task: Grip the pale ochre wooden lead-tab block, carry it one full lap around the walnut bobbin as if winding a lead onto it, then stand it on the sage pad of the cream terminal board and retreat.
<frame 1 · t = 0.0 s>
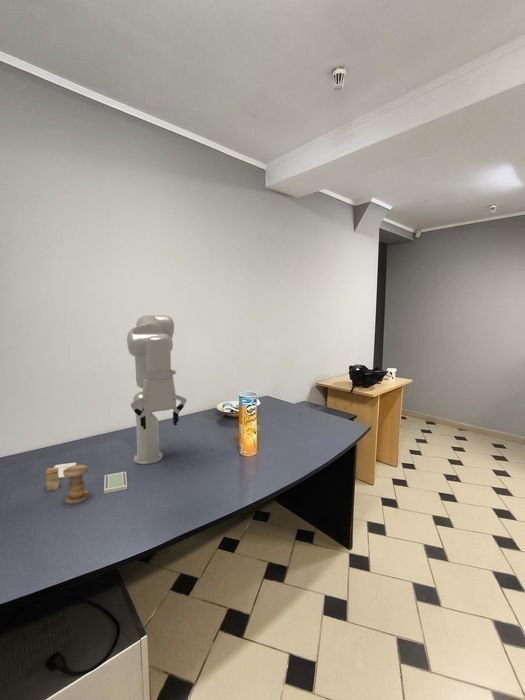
hand: (159, 426, 109), 31 cm above the table, fingers open, 9 cm apart
bobbin: (77, 497, 122), on the table
lead tab: (53, 487, 128), on the table
external hard drive: (63, 474, 140), on the table
terminal board: (115, 483, 132), on the table
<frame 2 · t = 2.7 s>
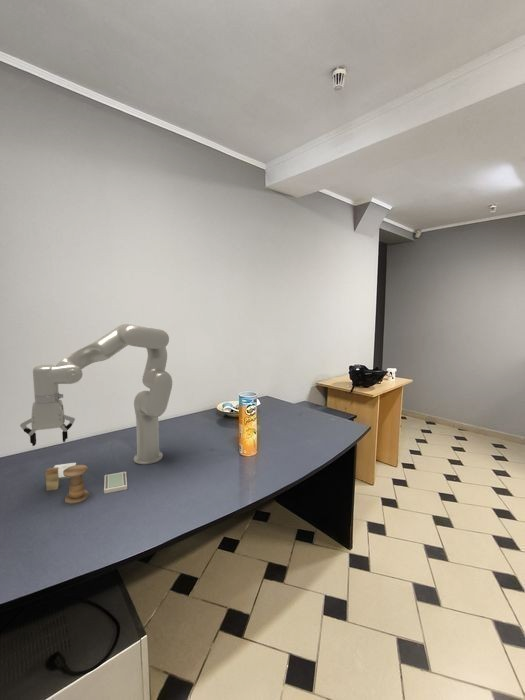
hand: (49, 442, 126), 18 cm above the table, fingers open, 9 cm apart
nothing on the table moved.
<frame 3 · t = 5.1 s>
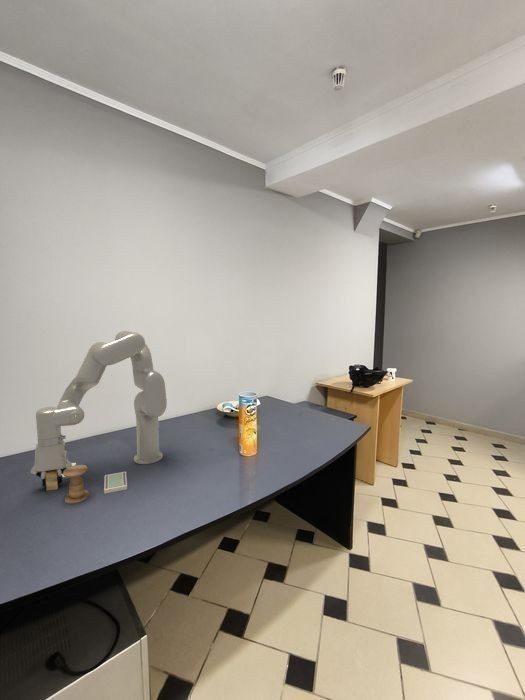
hand: (52, 485, 128), 1 cm above the table, fingers closed on lead tab, 3 cm apart
lead tab: (52, 487, 128), on the table, touching gripper
everything else where it was.
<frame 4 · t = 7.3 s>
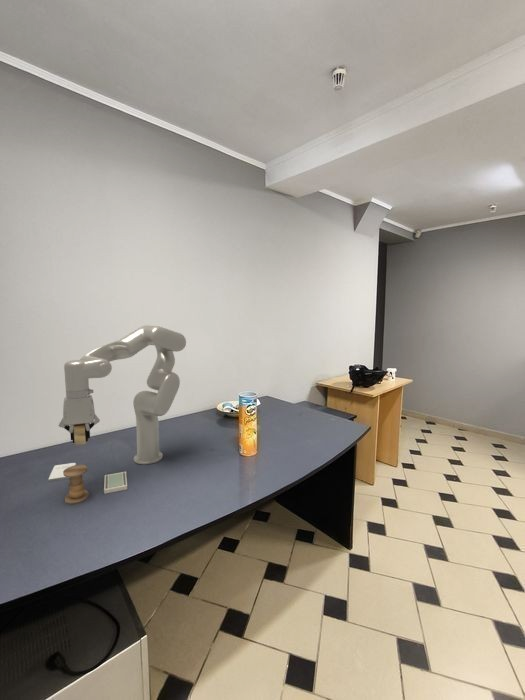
hand: (80, 440, 126), 19 cm above the table, fingers closed on lead tab, 3 cm apart
lead tab: (80, 442, 126), point 18 cm above the table, touching gripper
everything else where it was.
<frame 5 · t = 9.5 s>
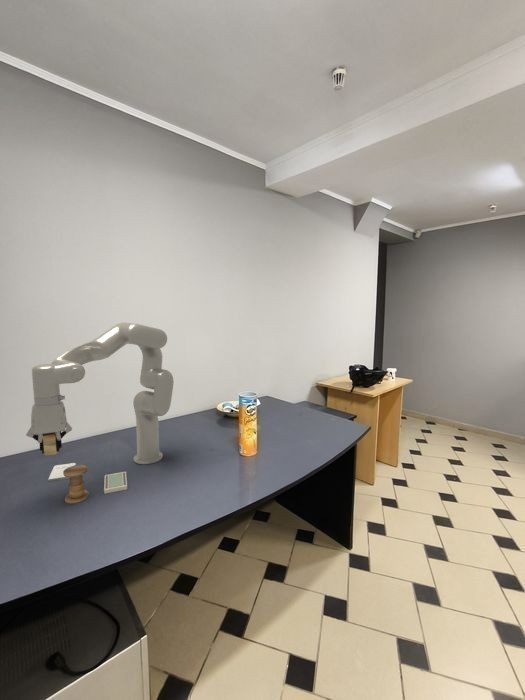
hand: (51, 450, 117), 19 cm above the table, fingers closed on lead tab, 3 cm apart
lead tab: (51, 452, 117), point 18 cm above the table, touching gripper
everything else where it was.
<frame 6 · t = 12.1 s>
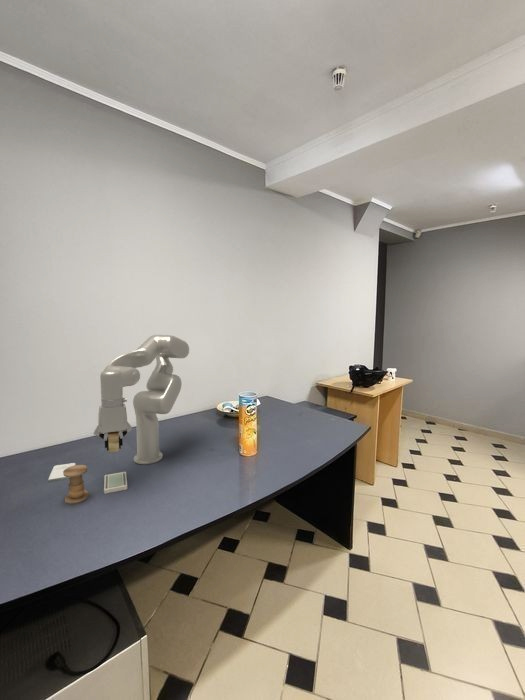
hand: (113, 447, 129), 15 cm above the table, fingers closed on lead tab, 3 cm apart
lead tab: (113, 449, 129), point 14 cm above the table, touching gripper
everything else where it was.
when the fingers open (3 cm above the table, at t = 14.3 s): lead tab drops 1 cm, resting on terminal board.
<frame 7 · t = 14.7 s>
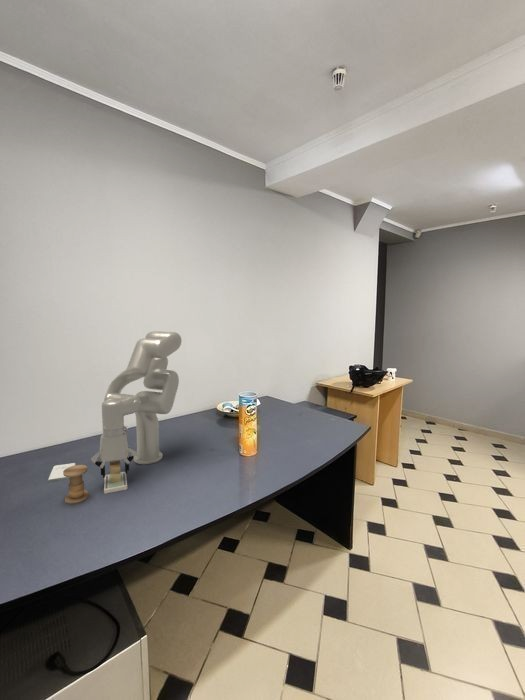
hand: (115, 474, 131), 4 cm above the table, fingers open, 7 cm apart
lead tab: (115, 480, 131), point 2 cm above the table, touching terminal board
everything else where it was.
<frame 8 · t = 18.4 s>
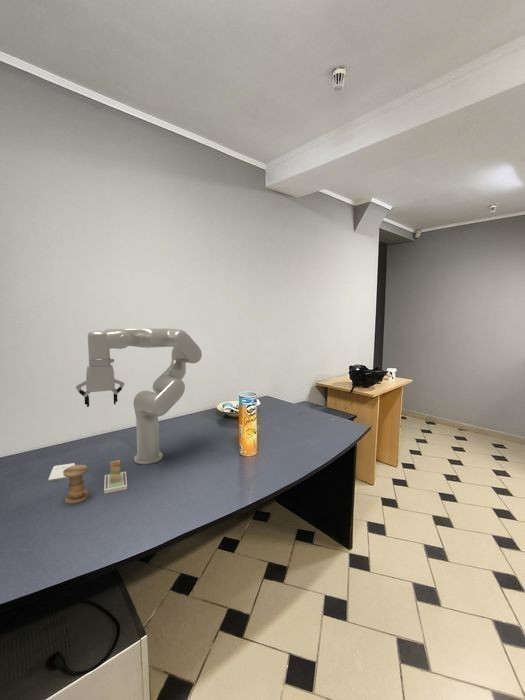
hand: (101, 404, 133), 30 cm above the table, fingers open, 9 cm apart
nothing on the table moved.
at the end: lead tab inside the target area on the terminal board (0.1 cm from its centre), point 1.6 cm above the terminal board's base; lead tab tilted 0°; the gripper is holding nothing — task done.
